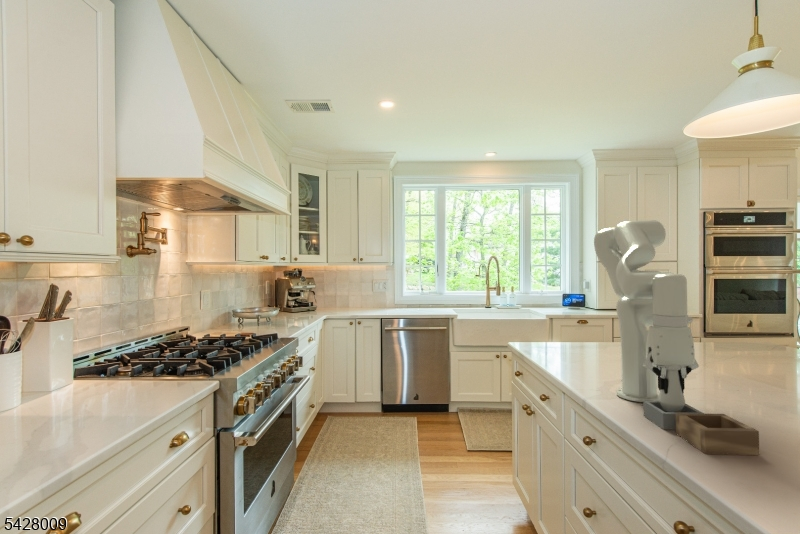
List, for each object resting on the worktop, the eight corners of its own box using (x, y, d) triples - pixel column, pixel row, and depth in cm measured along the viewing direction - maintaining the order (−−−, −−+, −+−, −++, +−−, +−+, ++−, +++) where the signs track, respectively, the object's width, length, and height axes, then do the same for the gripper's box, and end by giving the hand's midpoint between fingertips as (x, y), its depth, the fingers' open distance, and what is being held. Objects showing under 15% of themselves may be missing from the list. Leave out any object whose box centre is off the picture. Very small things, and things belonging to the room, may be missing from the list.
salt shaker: (675, 405, 110) (674, 357, 110) (690, 413, 104) (690, 362, 104) (653, 406, 110) (652, 357, 110) (668, 414, 104) (667, 363, 104)
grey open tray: (643, 415, 112) (643, 401, 112) (681, 416, 111) (681, 401, 111) (663, 429, 102) (663, 413, 102) (705, 430, 101) (705, 413, 101)
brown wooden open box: (676, 434, 99) (675, 413, 99) (724, 434, 98) (723, 413, 98) (705, 454, 88) (704, 430, 88) (759, 455, 87) (758, 431, 87)
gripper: (694, 319, 110) (695, 388, 110) (630, 319, 111) (631, 387, 111) (713, 323, 102) (714, 397, 102) (644, 324, 104) (645, 396, 104)
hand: (671, 391), depth 107 cm, fingers closed on salt shaker, 3 cm apart
